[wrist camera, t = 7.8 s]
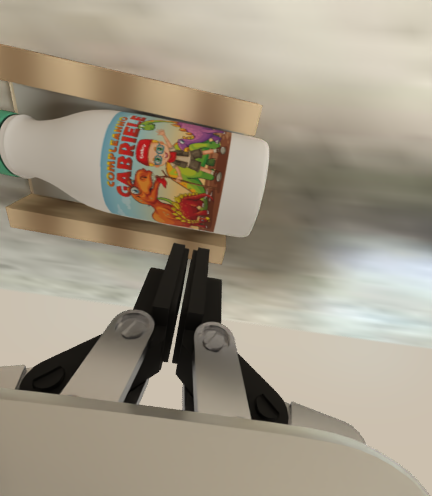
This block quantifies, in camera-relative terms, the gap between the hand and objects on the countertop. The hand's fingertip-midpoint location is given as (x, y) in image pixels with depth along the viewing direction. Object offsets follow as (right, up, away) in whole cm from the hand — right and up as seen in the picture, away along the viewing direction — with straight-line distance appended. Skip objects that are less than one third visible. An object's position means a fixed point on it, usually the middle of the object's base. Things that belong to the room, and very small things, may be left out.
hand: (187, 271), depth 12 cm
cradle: (-6, +9, +12) cm, 17 cm away
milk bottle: (+5, +6, +8) cm, 11 cm away
